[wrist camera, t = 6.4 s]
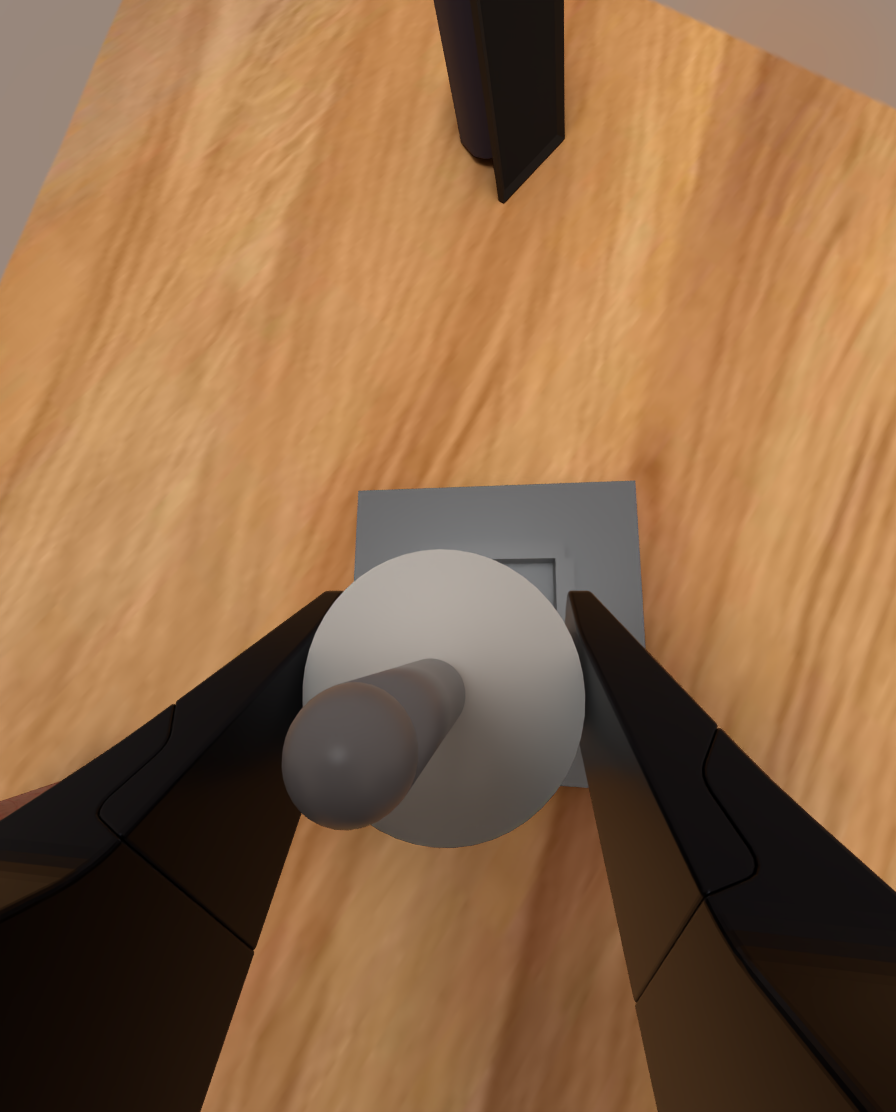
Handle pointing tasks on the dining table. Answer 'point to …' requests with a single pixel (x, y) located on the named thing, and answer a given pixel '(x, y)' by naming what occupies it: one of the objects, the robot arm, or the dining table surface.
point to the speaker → (506, 81)
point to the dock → (521, 541)
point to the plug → (435, 703)
